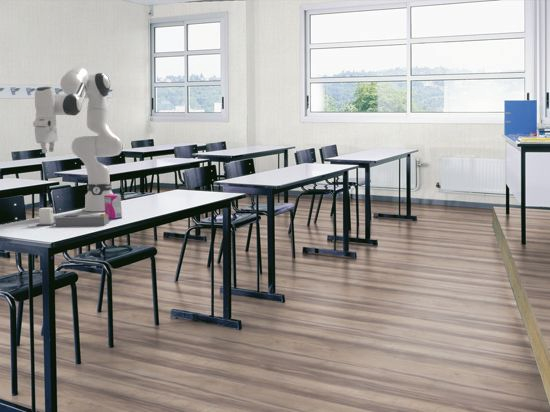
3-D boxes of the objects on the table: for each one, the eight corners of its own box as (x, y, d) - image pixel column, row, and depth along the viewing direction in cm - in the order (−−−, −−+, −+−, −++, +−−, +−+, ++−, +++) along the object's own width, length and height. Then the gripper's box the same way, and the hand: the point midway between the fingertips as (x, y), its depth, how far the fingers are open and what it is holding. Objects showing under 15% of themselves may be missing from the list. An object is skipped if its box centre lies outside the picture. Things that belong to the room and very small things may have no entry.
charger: (42, 222, 304) (41, 207, 303) (54, 222, 304) (53, 207, 303) (39, 224, 300) (38, 209, 299) (50, 224, 300) (50, 208, 299)
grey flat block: (66, 220, 312) (65, 210, 312) (112, 220, 312) (112, 210, 312) (55, 226, 296) (54, 215, 296) (104, 225, 296) (103, 215, 296)
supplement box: (114, 217, 322) (113, 193, 321) (122, 218, 319) (121, 194, 317) (104, 218, 318) (103, 195, 316) (112, 219, 314) (111, 195, 313)
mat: (41, 223, 306) (41, 222, 306) (56, 223, 306) (56, 222, 306) (36, 225, 299) (36, 224, 299) (51, 225, 299) (51, 224, 299)
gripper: (46, 122, 314) (48, 151, 316) (31, 122, 294) (33, 153, 296) (60, 121, 314) (61, 150, 316) (45, 122, 294) (47, 153, 296)
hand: (48, 152), depth 306 cm, fingers open, 8 cm apart
